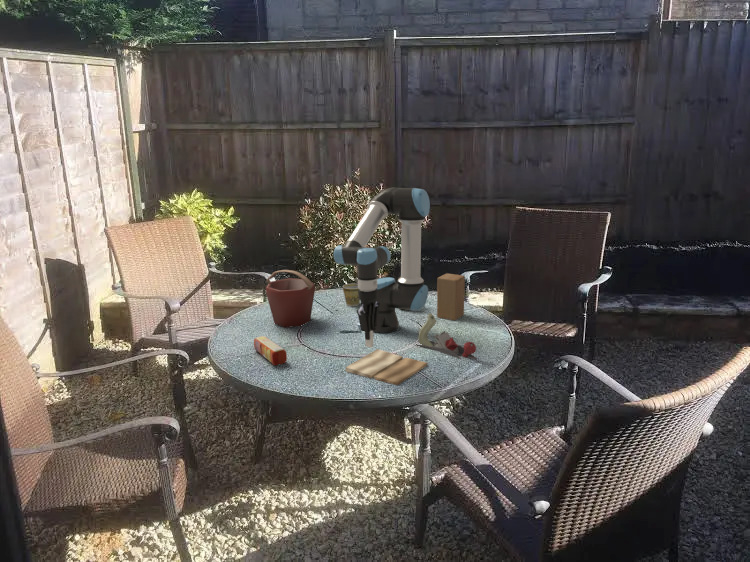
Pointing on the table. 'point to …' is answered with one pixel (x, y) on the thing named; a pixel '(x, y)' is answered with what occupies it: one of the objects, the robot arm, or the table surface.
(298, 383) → the table surface
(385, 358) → the ash plank
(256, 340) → the snack package
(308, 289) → the bucket
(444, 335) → the hand plane
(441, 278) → the wooden block
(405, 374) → the oak plank
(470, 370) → the table surface
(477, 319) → the table surface
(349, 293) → the ceramic cup
